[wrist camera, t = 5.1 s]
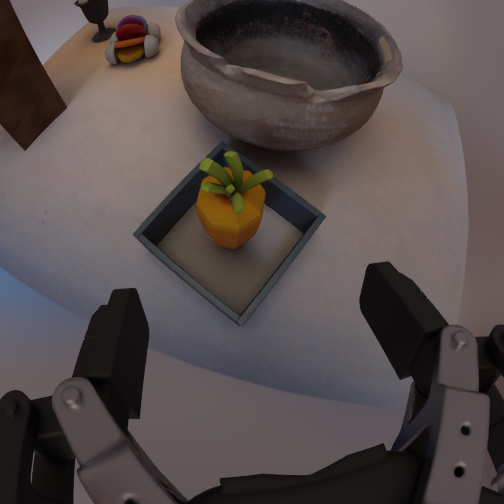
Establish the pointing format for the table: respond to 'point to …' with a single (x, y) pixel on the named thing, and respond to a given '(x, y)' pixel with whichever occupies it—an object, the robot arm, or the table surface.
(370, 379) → the table surface
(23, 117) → the block
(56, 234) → the table surface
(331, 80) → the ceramic bowl
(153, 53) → the rainbow cloud toy
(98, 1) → the sundae
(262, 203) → the carrot
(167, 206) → the square storage tray
